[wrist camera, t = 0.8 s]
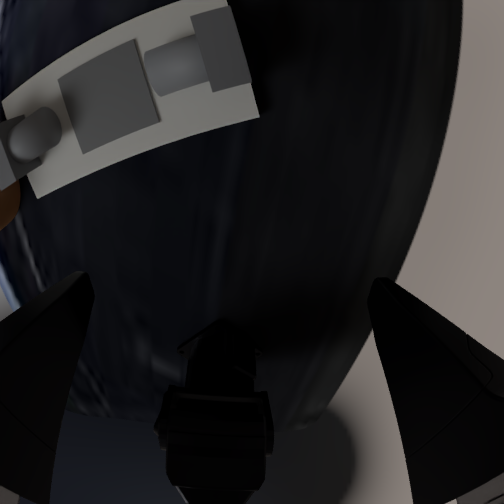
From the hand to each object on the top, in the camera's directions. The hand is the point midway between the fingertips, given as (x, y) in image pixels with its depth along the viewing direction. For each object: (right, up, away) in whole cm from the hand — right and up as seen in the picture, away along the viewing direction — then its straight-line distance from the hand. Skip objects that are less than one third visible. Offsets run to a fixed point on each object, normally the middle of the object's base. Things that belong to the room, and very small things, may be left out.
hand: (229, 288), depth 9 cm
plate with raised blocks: (-9, +11, +8) cm, 16 cm away
